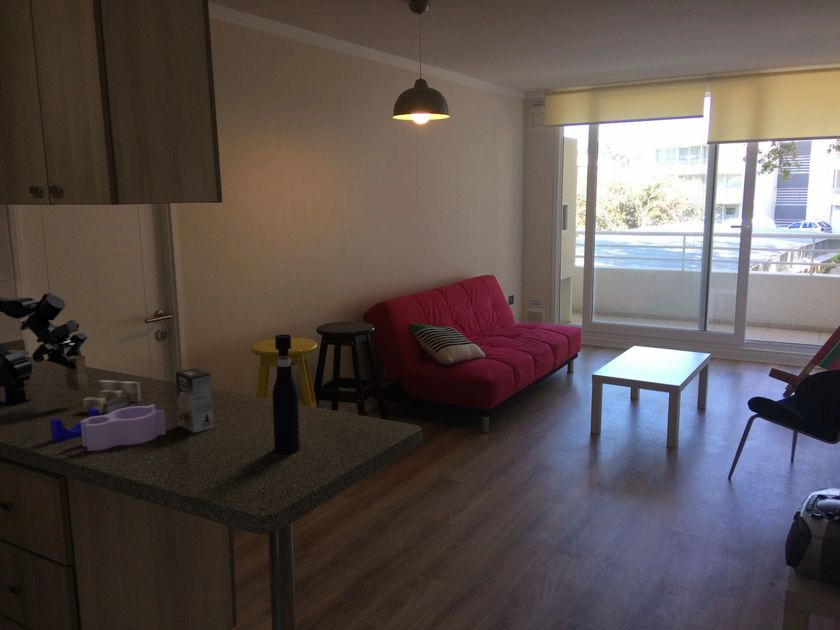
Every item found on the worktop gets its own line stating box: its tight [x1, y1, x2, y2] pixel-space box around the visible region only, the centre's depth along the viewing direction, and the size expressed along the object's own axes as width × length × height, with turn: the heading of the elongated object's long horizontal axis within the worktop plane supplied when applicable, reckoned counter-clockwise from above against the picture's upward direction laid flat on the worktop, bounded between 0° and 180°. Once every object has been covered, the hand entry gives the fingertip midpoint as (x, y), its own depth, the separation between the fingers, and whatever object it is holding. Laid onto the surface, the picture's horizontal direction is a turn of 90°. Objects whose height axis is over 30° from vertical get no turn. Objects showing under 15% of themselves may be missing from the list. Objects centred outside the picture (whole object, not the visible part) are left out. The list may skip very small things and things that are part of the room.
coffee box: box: [175, 367, 214, 434], centre depth 192 cm, size 9×6×16 cm
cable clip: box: [49, 408, 101, 443], centre depth 187 cm, size 12×4×6 cm, turn 145°
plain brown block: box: [65, 355, 89, 392], centre depth 211 cm, size 4×4×10 cm
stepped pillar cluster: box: [82, 379, 142, 415], centre depth 213 cm, size 14×14×6 cm
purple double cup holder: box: [80, 404, 167, 452], centre depth 184 cm, size 20×12×7 cm, turn 133°
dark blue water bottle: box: [272, 334, 301, 455], centre depth 174 cm, size 6×6×30 cm
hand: (79, 366), depth 211 cm, fingers closed on plain brown block, 4 cm apart
